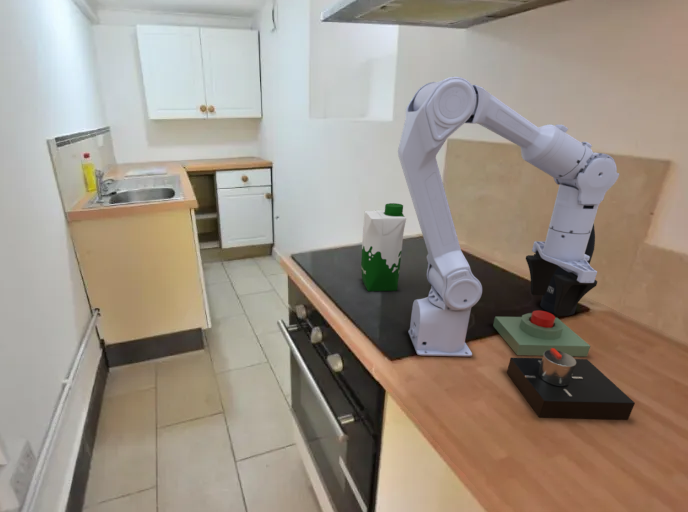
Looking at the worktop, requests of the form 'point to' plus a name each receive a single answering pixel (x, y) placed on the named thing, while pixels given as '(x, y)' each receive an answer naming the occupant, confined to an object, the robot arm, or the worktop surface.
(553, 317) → the red button
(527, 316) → the button block
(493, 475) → the worktop surface
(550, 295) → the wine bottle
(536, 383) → the control panel
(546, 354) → the dial knob
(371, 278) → the milk carton
